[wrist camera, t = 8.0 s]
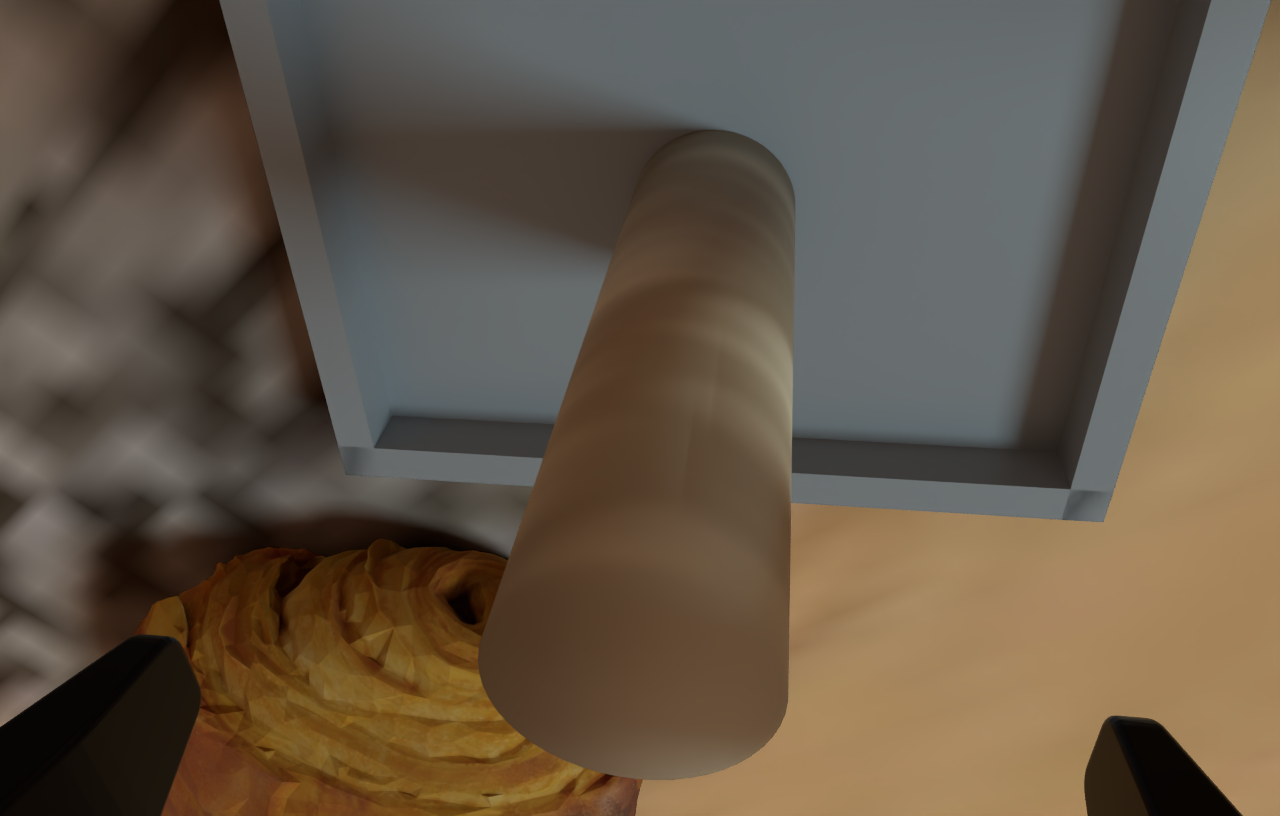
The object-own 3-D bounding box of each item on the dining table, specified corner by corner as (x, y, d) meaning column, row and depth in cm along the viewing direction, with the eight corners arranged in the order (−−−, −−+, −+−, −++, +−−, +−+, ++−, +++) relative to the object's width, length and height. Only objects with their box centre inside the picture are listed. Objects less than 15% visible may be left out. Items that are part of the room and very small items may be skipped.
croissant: (727, 568, 28) (735, 799, 21) (549, 883, 36) (511, 1132, 28) (232, 390, 26) (62, 580, 19) (151, 761, 34) (5, 997, 27)
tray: (1260, -181, 15) (1323, -164, 13) (1079, 454, 22) (1103, 522, 20) (248, -158, 17) (182, -140, 15) (379, 416, 24) (346, 474, 22)
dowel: (800, 130, 17) (798, 588, 8) (790, 283, 19) (780, 793, 10) (631, 128, 18) (458, 561, 9) (636, 277, 19) (496, 764, 11)
